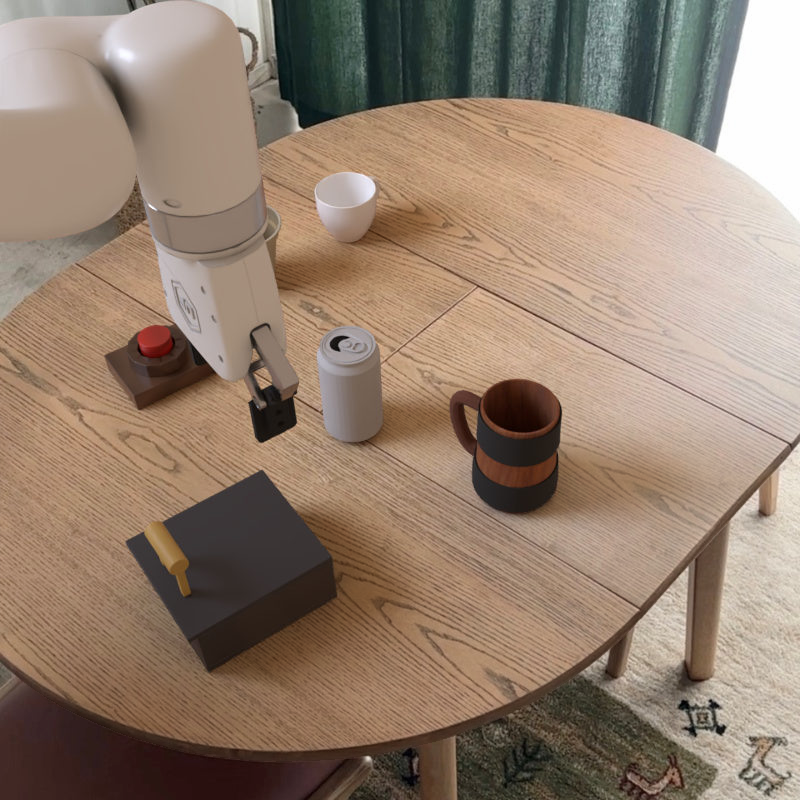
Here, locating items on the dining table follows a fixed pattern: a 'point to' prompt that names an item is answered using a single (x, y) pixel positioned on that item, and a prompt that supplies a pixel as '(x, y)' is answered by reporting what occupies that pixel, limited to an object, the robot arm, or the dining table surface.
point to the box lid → (227, 554)
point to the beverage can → (350, 383)
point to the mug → (511, 443)
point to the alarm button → (155, 341)
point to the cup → (347, 204)
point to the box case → (266, 618)
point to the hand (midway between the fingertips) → (243, 393)
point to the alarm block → (155, 369)
